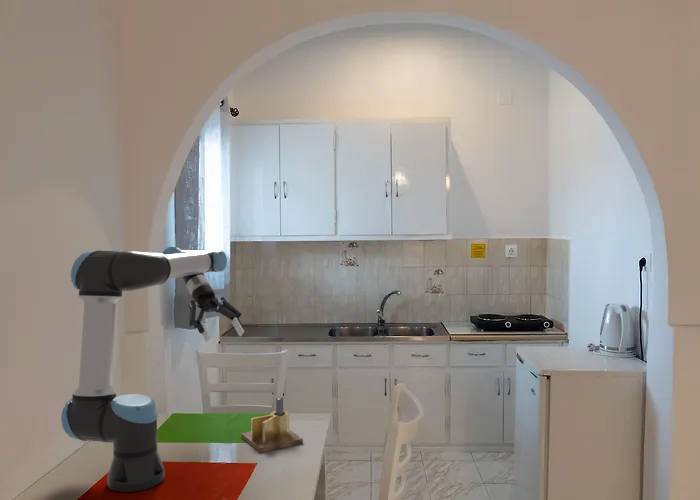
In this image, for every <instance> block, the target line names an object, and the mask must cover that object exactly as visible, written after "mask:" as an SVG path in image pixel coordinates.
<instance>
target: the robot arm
mask: <svg viewBox="0 0 700 500" xmlns="http://www.w3.org/2000/svg"><path fill="white" fill-rule="evenodd" d="M227 259H228V258H227V254H226V252H225V251H224V250H219V249H209V250H207V249H204V250H203V249H202V250H199V249H198V250H197V249H195V250H193V249H192V250H191V249H180V247H177V246H174V245H170V246H168V247H167V246H166V248H165V249H164V250H163V251H162V252H142V251H133V250H100V249H99V250H91V251H85V252H83V253H81V254H80V255H79V256H78V257H77V258H76V259H75V261H74V262H73V264H72V267H71V270H70V281H71V283H72V286H73V287H74V288H75V289H76V290H78V298H79V299H80V300H81V301H83V313H82V314H83V316H82V331H81V344H80V347H81V348H80V361H79V362H80V363H79V378H78V379H79V380H78V387H77V388H76V389H75V390H74V391H72V397H71V398H70V399H68V400H67V401H66V403H65V404H64V405H65V406H64V407H63V408H62V410H61V426H62V428H63V431H64V432H65V434H67V436H68V437H70V438H72V439H76V440H80V441H83V442H97V443H98V442H99V443H109V444H112V447H113V448H112V451H113V457H112V460H111V463H110V467H109V470H108V473H107V478H106V481H107V483H106V484H107V487H108V488H109V489H110V490H111V491H114V492H121V493H131V492H139V491H143V490H148V489H150V488H153V487H156V486H158V485H159V484H160V483H162V482H163V481H164V479H165V477H166V475H165V467H164V465H163V464H164V463H163V461H162V459H161V456H160V454H159V451H158V412H157V404H156V402H155V400H154V399H153V398H152V397H150V396H148V395H145V394H140V393H138V394H137V393H132V394H130V393H126V394H121V395H118V396H117V390H116V389H115V388H114V387H113V386H112V379H113V378H112V376H113V360H114V358H113V357H114V344H115V343H114V341H115V328H116V312H117V311H116V308H117V303H118V302H119V300H121V299H122V298H123V292H132V291H138V290H142V289H147V288H151V287H155V286H160V285H163V284H165V283H166V282H167V281H169V280H171V279H178V278H181V279H182V280H183V282H184V283H185V286H186V288H187V290H188V292H189V293H190V295H191V297H192V300H191V301H190V303H189V304H188V308H189V310H190V311H189V321H188V322H189V327H194V329H197V331H198V332H199V334H201V335H202V337H203V340H204V341H205V343H209V342H210V340H211V338H212V336H211V334H210V332H209V330H208V329H207V327H206V325H205V323H204V321H202V319H203V317H204V315H205V313H213V312H215V313H217V314H218V313H219V314H221V315H222V316H224V317H226V318H228V319H229V320H231V324H232V325H233V327H234V330H235V331H236V333H237V335H238V336H239V337H242V336H243V334H244V333H245V330H244V328H243V326H242V325H243V324H242V322H241V320H240V318H241V316H242V312H241V311H239V310H238V309H237V308H235V307H234V306H233V304H231V303H229V302H228V301H227V300H226V298H225V297H224V296H222V297H221V298H219V299H218V298H217V297H216V294H215V291H214V289H213V288H212V286H211V283H210V282H209V280H208V279H207V277H206V275H205V274H206V273H211V272H212V273H218V272H224V271H225V270H226V268H227V263H228V262H227V261H228V260H227ZM204 273H205V274H204ZM197 308H198V309H200V310H199V313H198V316H197V315H196V314H197V313H196V312H197ZM196 316H197V318H196Z"/></svg>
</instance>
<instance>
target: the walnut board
mask: <svg viewBox="0 0 700 500" xmlns="http://www.w3.org/2000/svg"><path fill="white" fill-rule="evenodd" d="M240 436H241V439H242V440H244V441H245V442H246V443H248V444H249V445H250V446H251V447H252V448H253V449H254V450H256V451H257V452H258V453H259V454H261V453H265V452H268V451H269V452H270V451H273V450H278V449H283V448H288V447H289V448H290V447H292V446H299V445H302V444H303V443H304V439H303V437H301V436H299V435H298V434H296V433H295V432H293V431H292V430H291V429H289V435H288V436H285V437H276V438H274V439H273V440H271V441H270V442H268V443H267V444H263V438H262V439H257V440H251V430H250V431H246V432H245V431H244V432H241V435H240Z"/></svg>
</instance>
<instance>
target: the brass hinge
mask: <svg viewBox="0 0 700 500" xmlns="http://www.w3.org/2000/svg"><path fill="white" fill-rule="evenodd" d="M289 430H290V412H288V411H286V410H283V415H276V410H274V411H271V412H270V414H266V415H262V416H256V417H252V418H250V431H251V440H257V439H262V438H263V444H267V443H268V442H270V441H271V440H273V439H274V438H276V437H285V436H288V435H289Z"/></svg>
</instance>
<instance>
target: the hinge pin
mask: <svg viewBox="0 0 700 500" xmlns="http://www.w3.org/2000/svg"><path fill="white" fill-rule="evenodd" d="M275 411H276V415H283V411H284V397H277V398H275Z"/></svg>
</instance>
